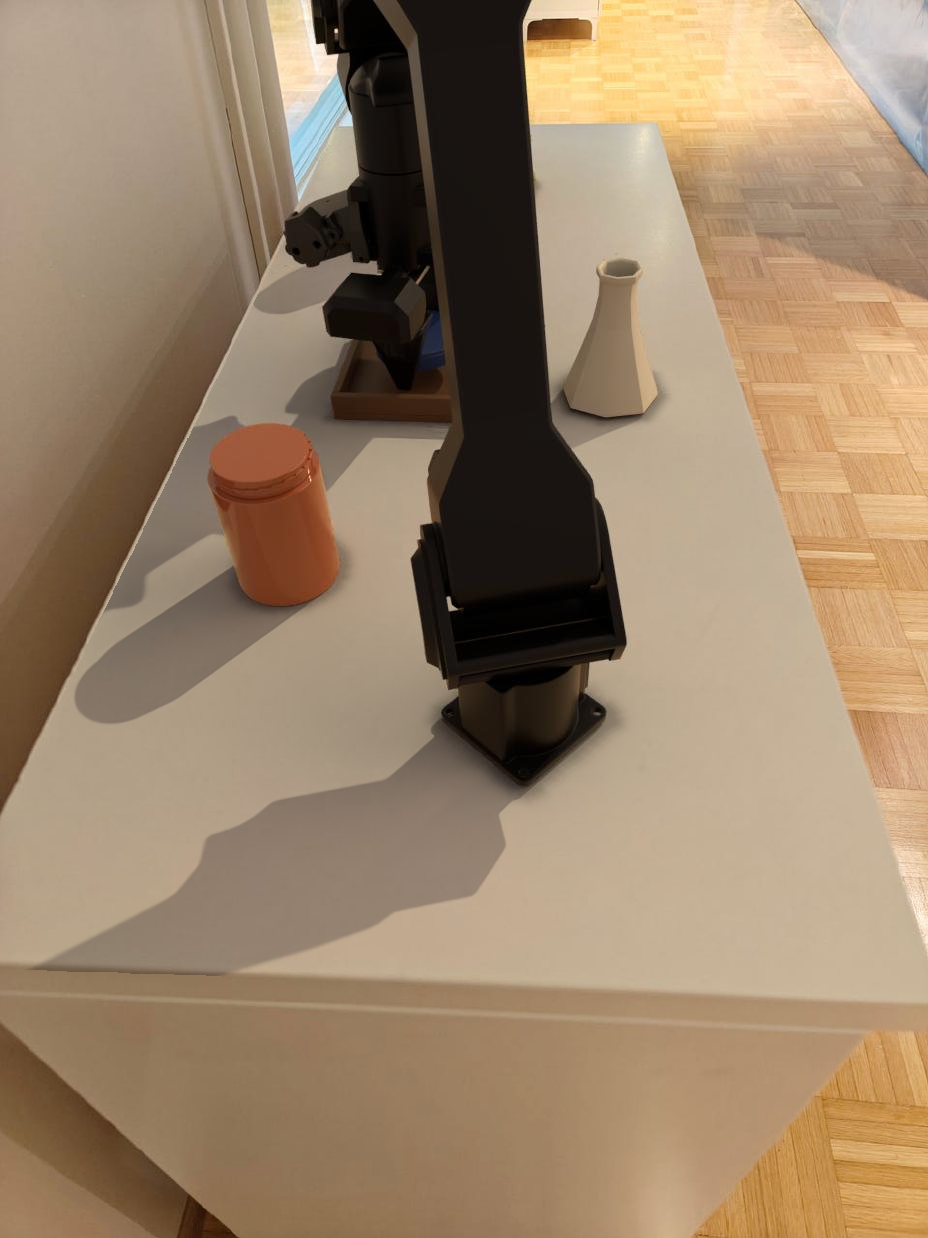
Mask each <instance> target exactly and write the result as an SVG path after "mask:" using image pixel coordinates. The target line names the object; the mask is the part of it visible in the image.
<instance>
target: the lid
mask: <svg viewBox="0 0 928 1238" xmlns="http://www.w3.org/2000/svg"><path fill="white" fill-rule="evenodd" d="M425 312H431V313H432V314H433V315H432V319H431V322H430V326H429V330H428V333H427V336H426V340H425V344H424V347H423V351H422V354H421V358H420V361H419V365H418V369H417V371H422V370H430V369H434V368H438V367H441V366H444V365H446V361H445V353H444V344H443V336H442V328H441V320H440V311H435V310H426V311H425ZM375 348H376V347H375ZM376 354H377V356H378V358H379V359H380V360H381V361H382V362H383V360H382V358H381V356H380V354H379V352H378V350H377V349H376ZM383 363H384V362H383Z"/></svg>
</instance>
